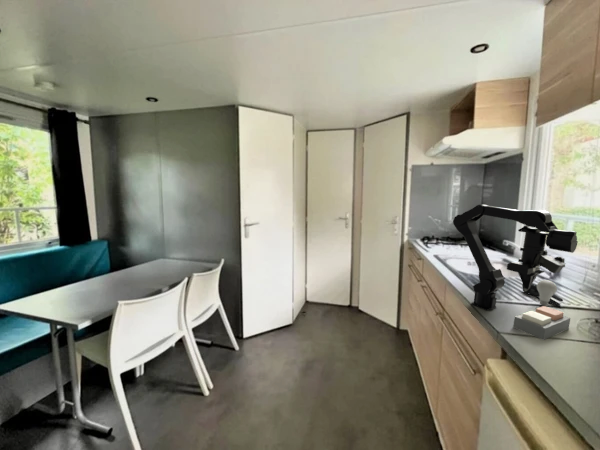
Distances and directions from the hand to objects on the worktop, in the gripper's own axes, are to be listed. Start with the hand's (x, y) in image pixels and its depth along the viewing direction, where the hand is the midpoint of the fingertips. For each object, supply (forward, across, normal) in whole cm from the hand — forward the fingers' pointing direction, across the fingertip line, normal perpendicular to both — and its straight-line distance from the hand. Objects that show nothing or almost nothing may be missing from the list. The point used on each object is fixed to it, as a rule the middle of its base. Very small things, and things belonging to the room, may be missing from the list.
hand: (526, 288), depth 100 cm
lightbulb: (+12, +23, +3) cm, 26 cm away
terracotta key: (+11, +4, -6) cm, 13 cm away
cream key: (+11, -5, -6) cm, 13 cm away
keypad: (+12, 0, -6) cm, 13 cm away
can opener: (+12, +32, +8) cm, 35 cm away
